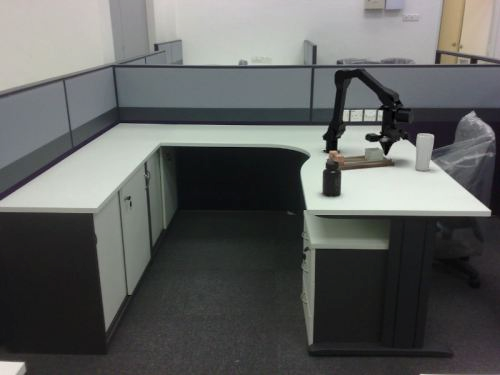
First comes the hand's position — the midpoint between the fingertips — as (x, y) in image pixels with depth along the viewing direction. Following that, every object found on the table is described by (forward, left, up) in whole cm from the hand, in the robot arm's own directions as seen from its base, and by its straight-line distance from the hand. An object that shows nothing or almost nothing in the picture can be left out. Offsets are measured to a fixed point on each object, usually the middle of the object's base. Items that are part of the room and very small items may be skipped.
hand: (385, 155), depth 210 cm
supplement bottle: (+33, -39, -3) cm, 51 cm away
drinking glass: (+15, +9, -3) cm, 18 cm away
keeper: (0, -6, -1) cm, 6 cm away
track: (0, -12, -3) cm, 13 cm away
